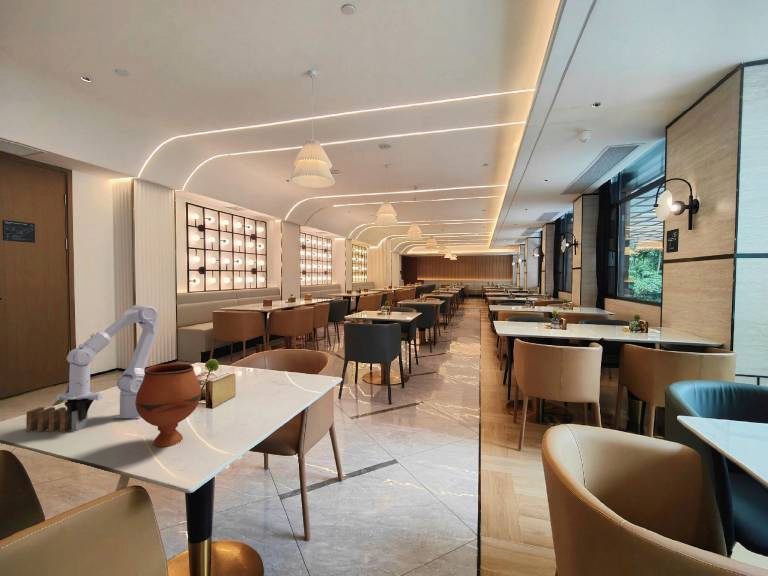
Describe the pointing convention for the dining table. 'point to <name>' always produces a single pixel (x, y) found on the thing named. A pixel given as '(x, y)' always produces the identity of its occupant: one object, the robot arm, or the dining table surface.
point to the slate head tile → (76, 423)
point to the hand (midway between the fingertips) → (79, 419)
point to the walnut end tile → (32, 419)
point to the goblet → (168, 399)
